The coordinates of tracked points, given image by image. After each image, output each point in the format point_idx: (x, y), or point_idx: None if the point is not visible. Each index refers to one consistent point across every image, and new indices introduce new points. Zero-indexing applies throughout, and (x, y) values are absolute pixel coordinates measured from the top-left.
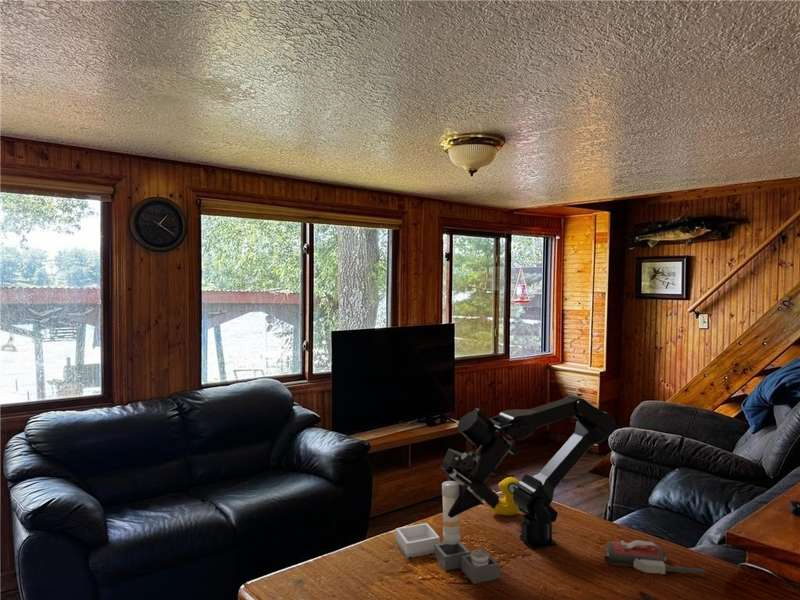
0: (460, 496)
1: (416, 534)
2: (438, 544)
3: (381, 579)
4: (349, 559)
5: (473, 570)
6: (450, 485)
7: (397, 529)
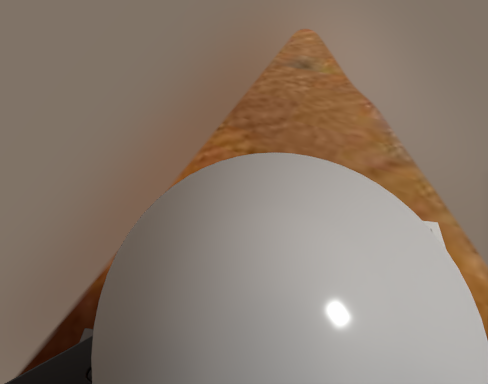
0: (75, 375)
1: None
2: None
3: (253, 153)
4: (351, 131)
5: (86, 328)
6: (217, 255)
7: (428, 224)
